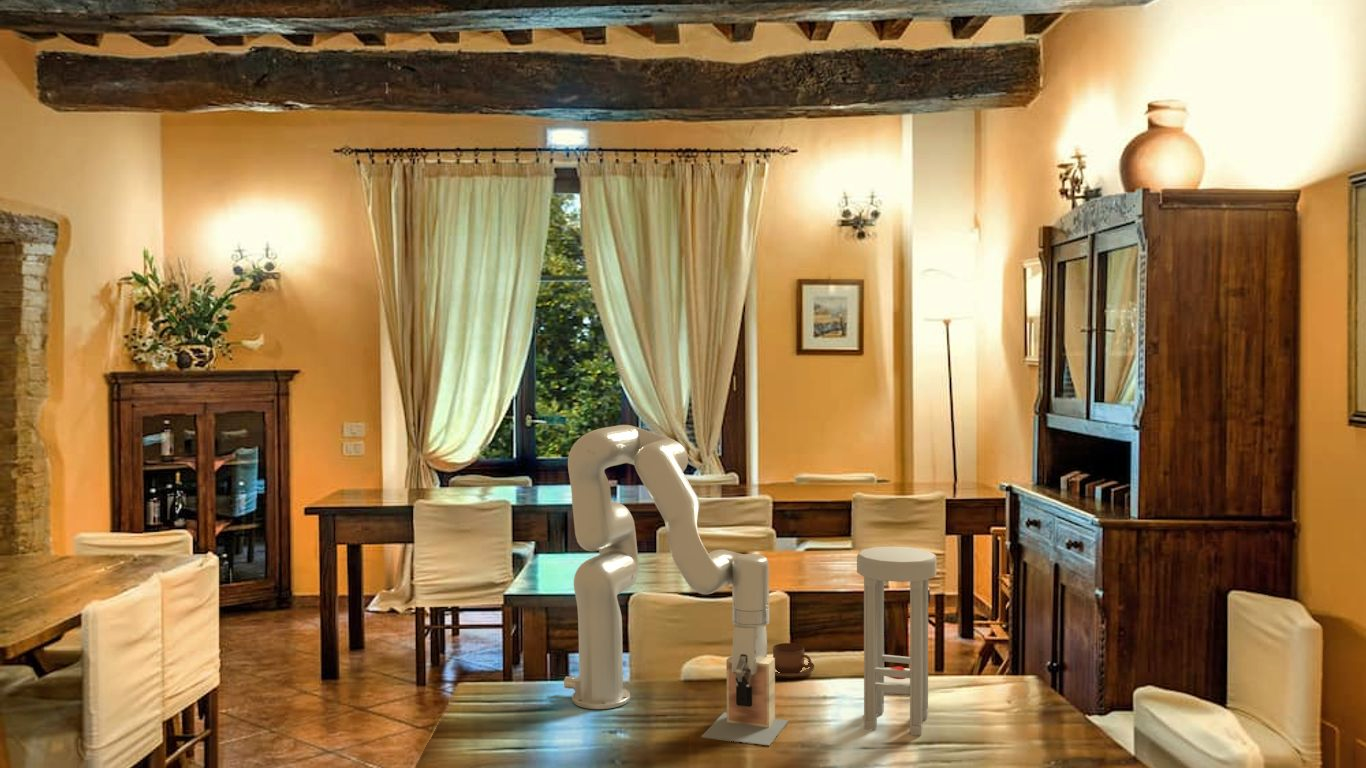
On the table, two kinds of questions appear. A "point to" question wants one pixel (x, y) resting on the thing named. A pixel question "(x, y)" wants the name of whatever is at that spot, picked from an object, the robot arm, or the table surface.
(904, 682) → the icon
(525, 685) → the table surface
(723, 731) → the mat
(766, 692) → the slab
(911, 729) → the stool
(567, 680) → the robot arm
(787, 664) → the cup and saucer
